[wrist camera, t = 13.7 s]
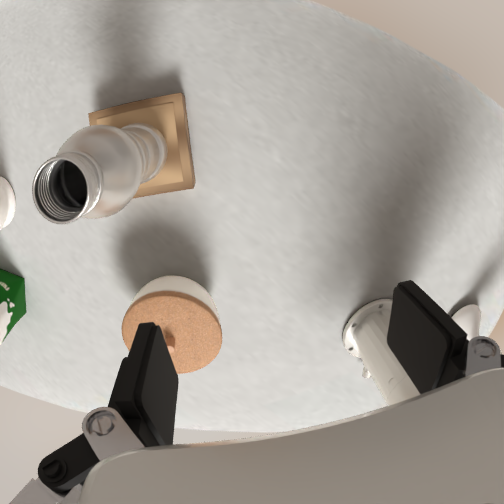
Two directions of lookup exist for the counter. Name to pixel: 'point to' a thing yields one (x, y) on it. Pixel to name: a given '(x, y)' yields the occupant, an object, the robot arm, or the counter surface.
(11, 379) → the counter surface
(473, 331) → the flower in vase
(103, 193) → the plastic bottle
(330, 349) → the counter surface
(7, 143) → the counter surface
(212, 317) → the lidded bowl
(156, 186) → the base slab
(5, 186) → the jar
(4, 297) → the milk carton
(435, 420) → the robot arm
